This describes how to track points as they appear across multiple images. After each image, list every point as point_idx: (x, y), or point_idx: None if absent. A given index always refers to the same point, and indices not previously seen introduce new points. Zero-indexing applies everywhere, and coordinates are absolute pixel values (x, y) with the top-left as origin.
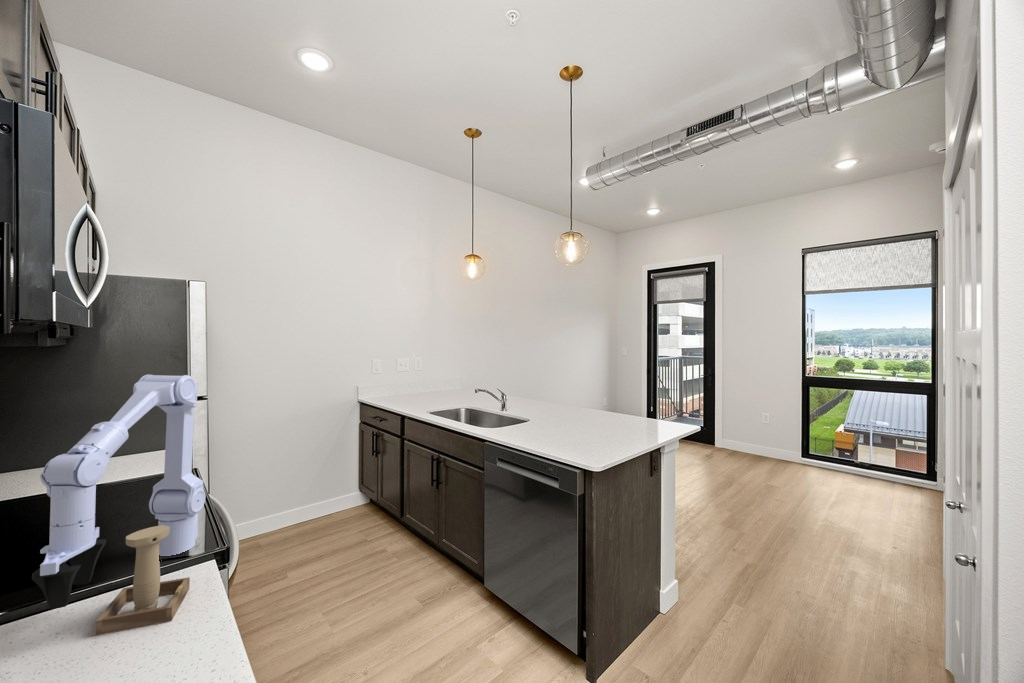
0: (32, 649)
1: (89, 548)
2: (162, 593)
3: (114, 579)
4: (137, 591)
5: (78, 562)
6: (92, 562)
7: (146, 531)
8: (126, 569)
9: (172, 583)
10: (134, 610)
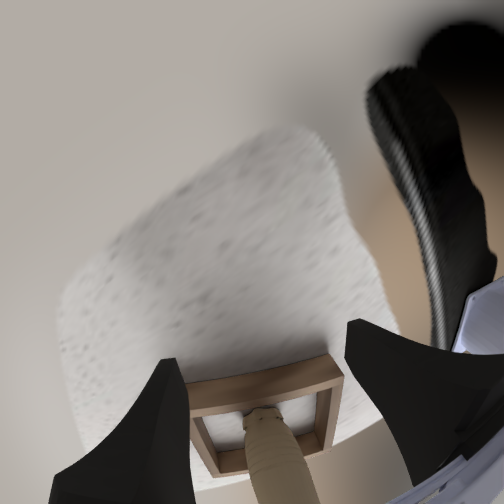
0: (135, 281)
1: (428, 462)
2: (317, 414)
3: (438, 263)
4: (250, 464)
5: (406, 390)
6: (388, 418)
7: None
8: (464, 261)
9: (323, 437)
10: (253, 414)
